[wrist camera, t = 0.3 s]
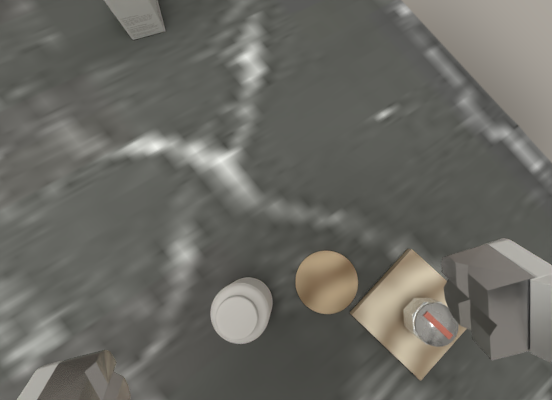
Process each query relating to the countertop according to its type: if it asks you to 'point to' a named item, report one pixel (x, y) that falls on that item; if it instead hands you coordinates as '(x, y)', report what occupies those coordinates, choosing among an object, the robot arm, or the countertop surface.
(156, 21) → the skincare box
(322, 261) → the coaster
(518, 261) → the robot arm
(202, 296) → the countertop surface
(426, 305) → the cap
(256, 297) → the pill bottle
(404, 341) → the post stand
